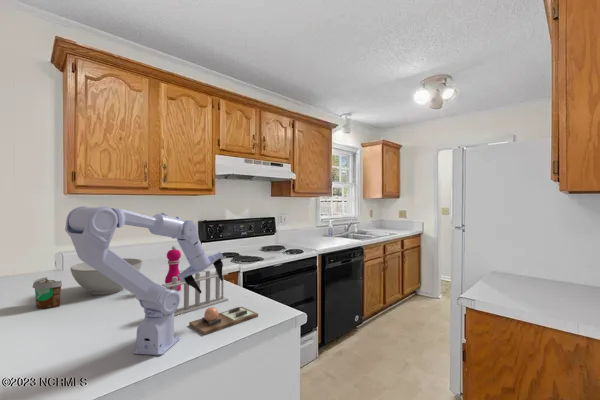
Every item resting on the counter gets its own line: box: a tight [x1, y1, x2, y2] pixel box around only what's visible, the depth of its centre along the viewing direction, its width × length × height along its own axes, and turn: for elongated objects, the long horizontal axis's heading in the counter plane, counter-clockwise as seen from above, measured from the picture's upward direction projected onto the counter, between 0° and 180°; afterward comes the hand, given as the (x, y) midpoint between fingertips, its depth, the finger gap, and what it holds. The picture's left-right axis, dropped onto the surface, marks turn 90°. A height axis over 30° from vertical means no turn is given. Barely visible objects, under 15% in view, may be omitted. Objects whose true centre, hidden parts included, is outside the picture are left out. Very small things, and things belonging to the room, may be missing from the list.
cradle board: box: [188, 306, 259, 336], centre depth 96 cm, size 20×10×2 cm, turn 136°
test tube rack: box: [161, 269, 229, 318], centre depth 109 cm, size 25×4×13 cm, turn 140°
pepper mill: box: [164, 245, 182, 292], centre depth 131 cm, size 7×7×20 cm
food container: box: [32, 276, 63, 310], centre depth 109 cm, size 12×6×10 cm, turn 62°
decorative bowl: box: [69, 257, 143, 295], centre depth 130 cm, size 27×27×12 cm
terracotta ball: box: [203, 306, 219, 322], centre depth 93 cm, size 4×4×4 cm
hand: (211, 285), depth 97 cm, fingers open, 7 cm apart
